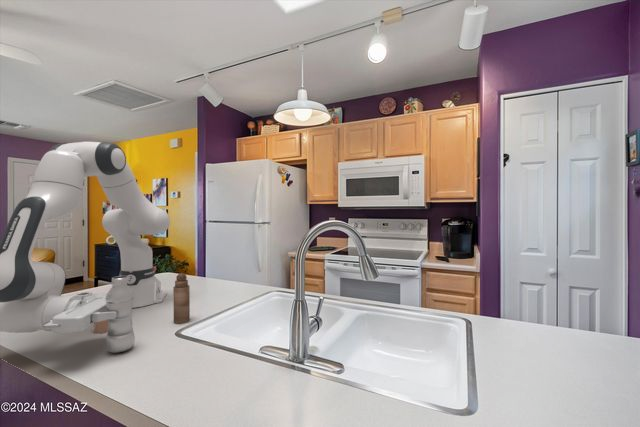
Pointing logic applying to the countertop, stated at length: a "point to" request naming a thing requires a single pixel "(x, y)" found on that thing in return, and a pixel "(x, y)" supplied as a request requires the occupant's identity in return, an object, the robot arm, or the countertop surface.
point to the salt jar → (101, 327)
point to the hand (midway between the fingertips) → (123, 309)
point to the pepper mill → (181, 300)
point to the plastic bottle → (120, 316)
